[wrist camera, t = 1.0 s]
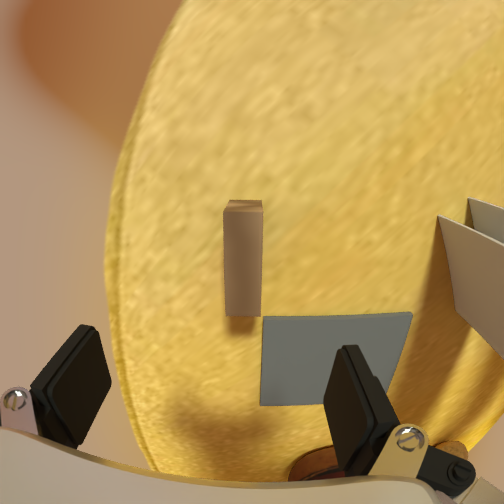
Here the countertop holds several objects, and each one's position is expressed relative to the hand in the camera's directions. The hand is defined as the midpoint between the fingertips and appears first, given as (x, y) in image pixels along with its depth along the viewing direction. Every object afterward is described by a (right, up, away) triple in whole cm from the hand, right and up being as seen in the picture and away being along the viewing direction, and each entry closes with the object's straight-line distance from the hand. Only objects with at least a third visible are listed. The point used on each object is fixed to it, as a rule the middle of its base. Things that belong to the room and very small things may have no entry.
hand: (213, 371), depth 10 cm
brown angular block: (+1, +5, +19) cm, 20 cm away
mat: (+12, -9, +23) cm, 28 cm away
